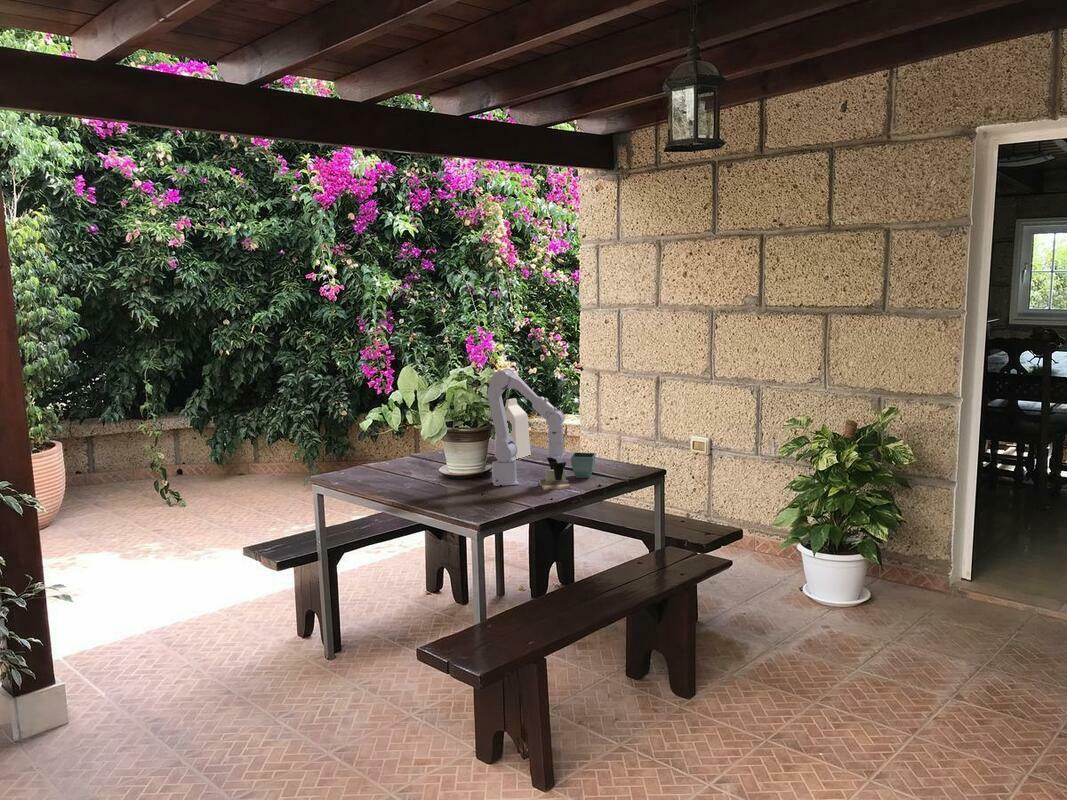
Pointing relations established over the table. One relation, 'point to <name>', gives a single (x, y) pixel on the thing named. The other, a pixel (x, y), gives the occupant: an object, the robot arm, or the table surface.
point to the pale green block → (551, 476)
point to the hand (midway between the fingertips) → (556, 477)
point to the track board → (554, 484)
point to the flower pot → (583, 464)
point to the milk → (518, 427)
